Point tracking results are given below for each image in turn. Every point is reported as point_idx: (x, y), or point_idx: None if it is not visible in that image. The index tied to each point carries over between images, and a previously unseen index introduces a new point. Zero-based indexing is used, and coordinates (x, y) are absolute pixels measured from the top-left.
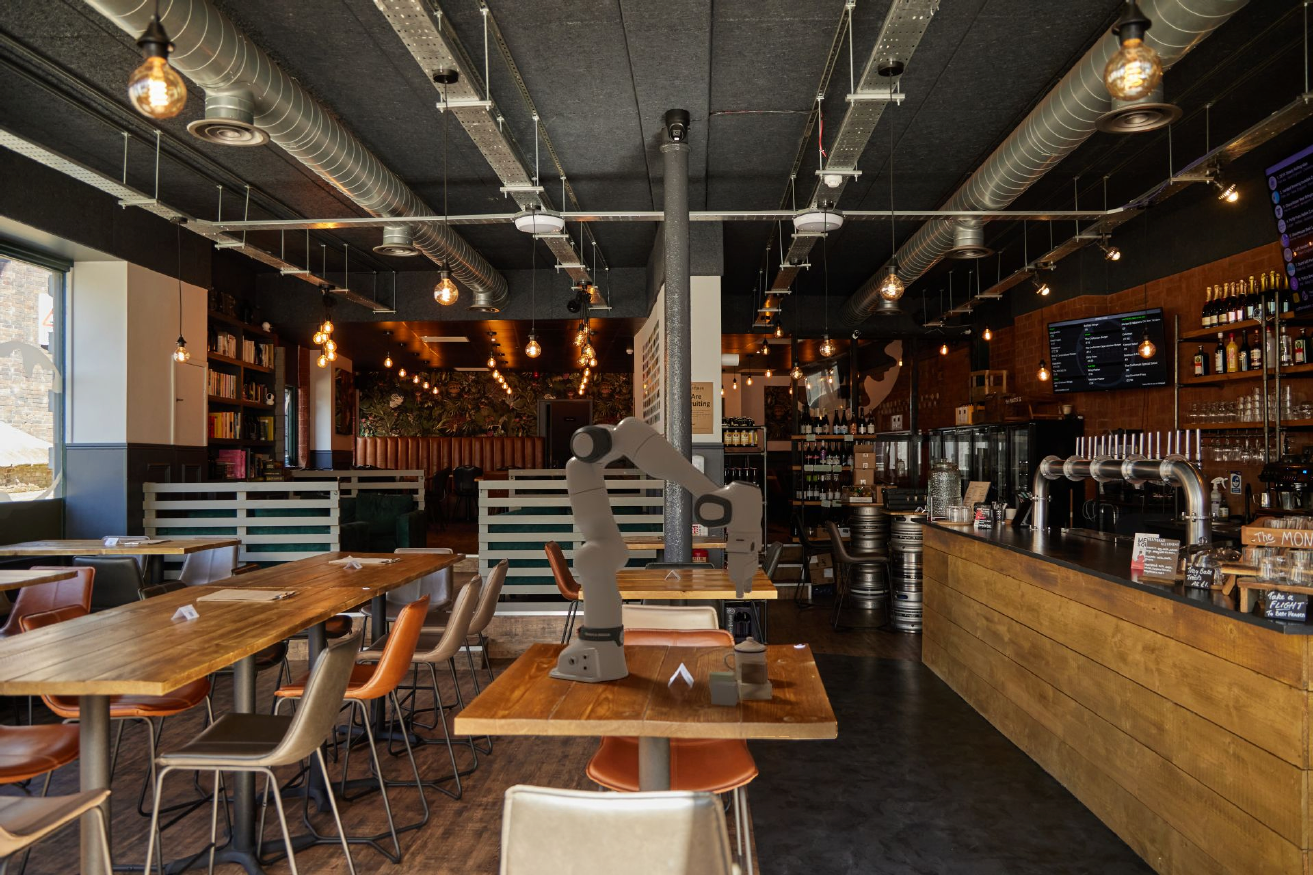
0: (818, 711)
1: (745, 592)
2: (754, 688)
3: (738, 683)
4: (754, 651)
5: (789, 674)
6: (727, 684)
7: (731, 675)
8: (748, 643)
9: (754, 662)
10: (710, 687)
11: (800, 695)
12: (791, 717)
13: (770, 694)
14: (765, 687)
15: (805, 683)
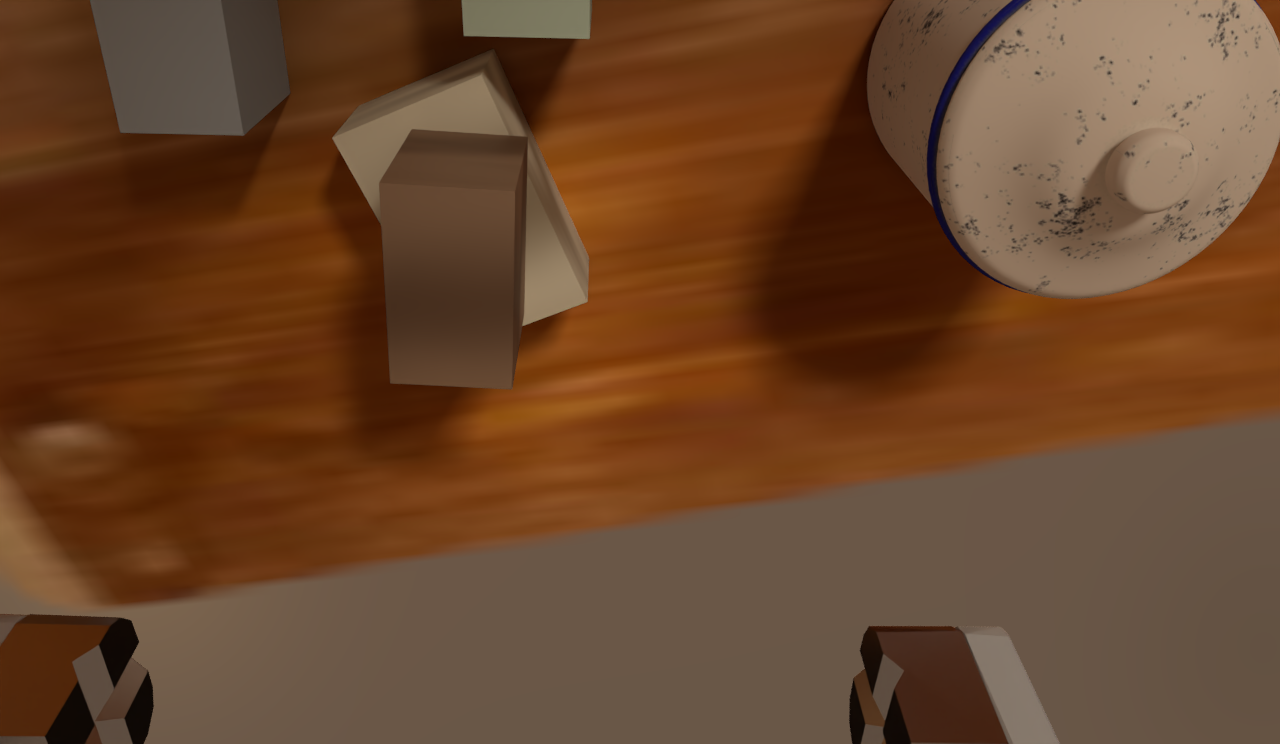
0: (290, 566)
1: (863, 645)
2: None
3: (429, 94)
4: (945, 210)
5: (1165, 322)
6: (134, 62)
7: (472, 30)
8: (1058, 156)
9: (449, 291)
10: None
11: (601, 450)
12: (101, 460)
13: None
14: None
15: (910, 444)
